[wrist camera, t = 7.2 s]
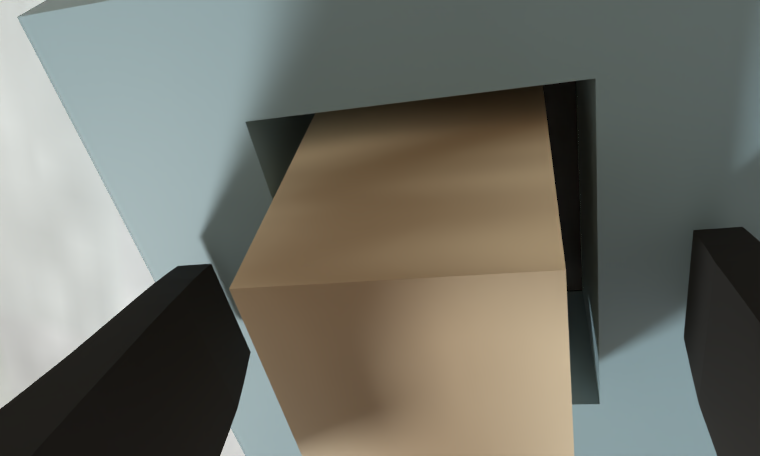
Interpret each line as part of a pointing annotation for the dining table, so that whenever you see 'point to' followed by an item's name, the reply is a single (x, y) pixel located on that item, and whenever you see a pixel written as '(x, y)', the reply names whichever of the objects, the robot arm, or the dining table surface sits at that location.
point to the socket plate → (427, 81)
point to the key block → (417, 282)
